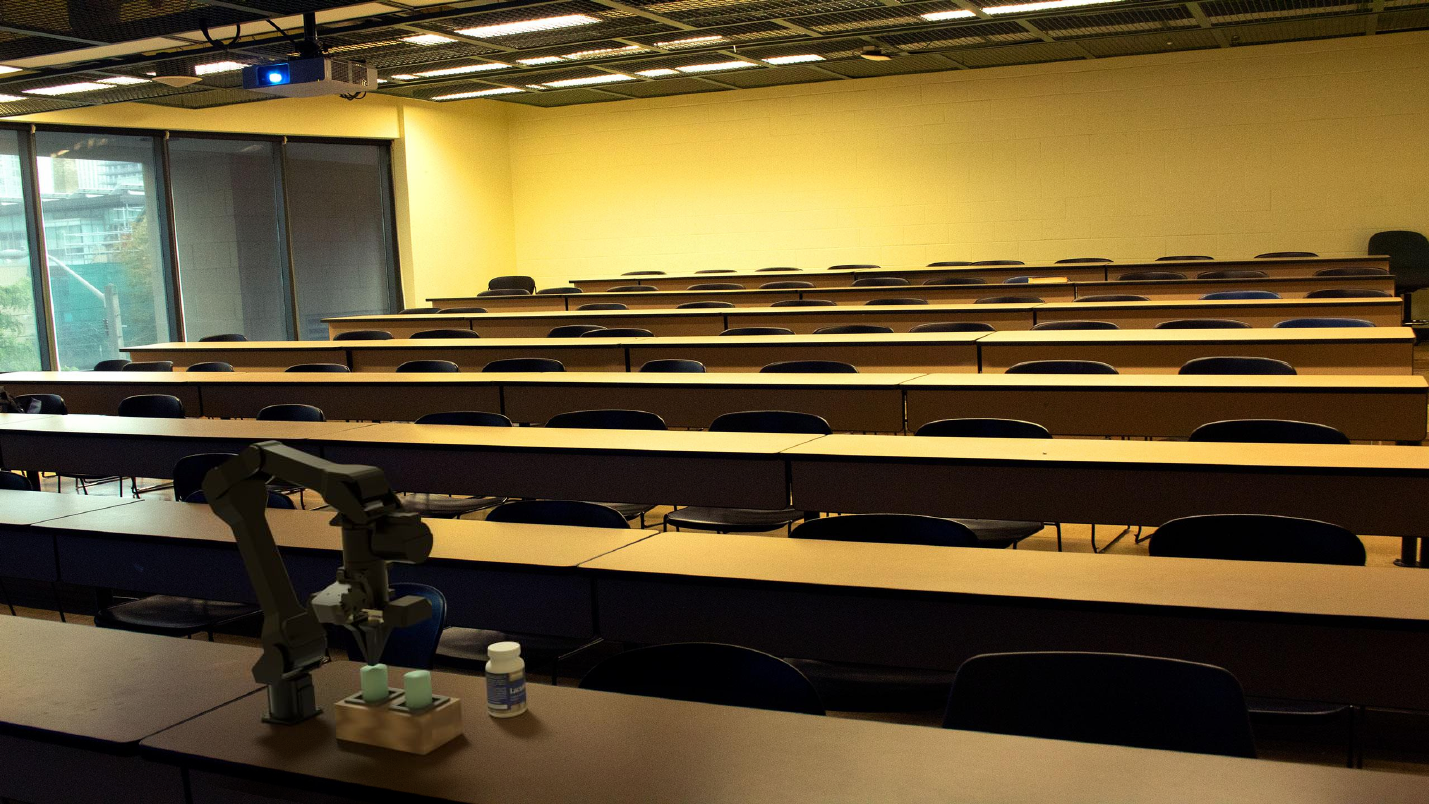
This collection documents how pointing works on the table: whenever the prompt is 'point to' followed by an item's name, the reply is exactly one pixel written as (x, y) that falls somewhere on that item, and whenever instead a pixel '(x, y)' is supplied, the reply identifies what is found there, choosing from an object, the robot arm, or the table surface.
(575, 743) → the table surface
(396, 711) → the socket block
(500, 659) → the pill bottle
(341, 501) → the robot arm
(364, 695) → the plunger
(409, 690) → the plunger
